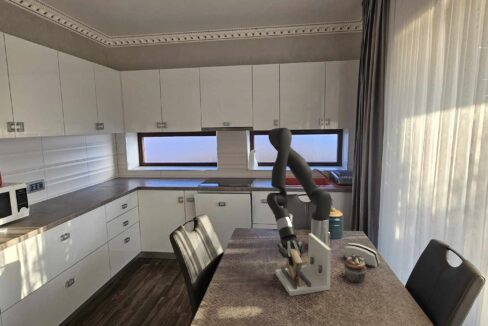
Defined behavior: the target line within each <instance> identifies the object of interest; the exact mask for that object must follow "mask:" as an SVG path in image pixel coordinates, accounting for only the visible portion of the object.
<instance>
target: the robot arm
mask: <svg viewBox="0 0 488 326" xmlns="http://www.w3.org/2000/svg"><path fill="white" fill-rule="evenodd" d="M292 139H293V135H292V132H291V130H290V129H289V128H288V127H276V128H272V129H270V130H269V133H268V141H269V143H270V144H271V146H273V149H275V150H276V152H277V153H276V159H275V162H274V164H273V166H272V169H271V170H272V171H271V184H270V185H271V187H272V188H274V189H278V191H279V192H269V193H268V194H267V197H266V203H267V205H268V207H269V208H270V210H271V212H272V214H273V215H274V220H275V222H276V227H277V232H278V235H279V239H280V243H278V244H277V245H276V246H275V247H276V249H277V251H278V252H279V253H280V256H282V258H286V260H287V259H288V262H289V265H291V267H293V266H294V264H293V260H292V257H291V253H290V251H291V249H296V250H297V252H298V254H299V256H300V258H301V259H302V256H303V255H304V253H305V245H306V242H305V241H300V240H299V239H298V238H297V233H296V229H295V227H294V224H293V220H292V221H291V219H290V215H289V214H290V212H289V210H288V209H287V208H286V206H287V204H288V203H289V197H288V193H287V187H286V178H287V177H286V175H287V166H288V169H289V170H290V172H291V173H292V174H293V176H294V177H295V178H296V180H297V182H298V183H299V185H301V187H302V188H303V190H304V192H305V194H306V196H307V198H308V200H309V201H310V202H311V204H313V205H315V206H316V207H315V211H312V213H311V226H310V227H311V231H310V233H312V234H313V235H314V236H315V237H317V238H318V239H319V240H320V241H322V242H323V243H324V244H325V245H326V246H328V247H329V248H330V249H331V247H330V246H331V245H330V244H331V242H330V241H331V239H330V232H329V215H330V212H331V208H332V195H331V193H330V192H328V191H327V190H324V189H322V188H320V187H319V186H318V184H317V183H316V182H315V181H314V180H315V179H314V178H313V171H312V169H311V167H310V165H309V164H308V162H307V161H306V159H305V158H304V157H303V156H302V155H300V154H299V153H298V152H297V151H296V150H294V149H293V148H292V146H291V145H292V144H291V143H292ZM298 246H299V247H298ZM299 248H300V249H299ZM284 249H285V250H284Z"/></svg>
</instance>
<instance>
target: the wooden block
mask: <svg viewBox="0 0 488 326" xmlns="http://www.w3.org/2000/svg"><path fill="white" fill-rule="evenodd" d="M290 253H291V257H292V260H293V264H294V266H293V267H291V265H289V262H288V259H287V258H286V260H287V261H286V265H285V266H286V268H288V271H289V273H290V275H291V277H292V279H299V275H300V271H301V267H302V266H303V259H302V257H301V258H300V256H299V254H298V252H297V250H296V249H291V251H290Z"/></svg>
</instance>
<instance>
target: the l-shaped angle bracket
mask: <svg viewBox="0 0 488 326" xmlns="http://www.w3.org/2000/svg"><path fill="white" fill-rule="evenodd" d="M307 244H308V249H307V251H308V253H307V254H308V255H307V260H308V261H307V265H302V267H301V271H300V275H299V279H292V277H291V275H290V273H289V271H288V268H287V267H286V268H285V267H284V266H281V267H280V268H279V269H275V275H276V277H277V279H278V280H279V282H280V283H281V284H282V285H283V287H284V288H285V291H286V292H287V294H289V297H292V296H299V295H305V294H310V293H311V294H312V293H316V292H323V291H324V292H325V291H329V290H331V271H332V269H331V268H332V249H331V247H330V248H329V247H328V246H326V245H325V244H324V243H323V242H322V241H320V240H319V239H318V238H317V237H315V236H314V235H313V234H312V233H311V232H310V233H308V243H307Z"/></svg>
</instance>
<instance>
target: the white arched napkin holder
mask: <svg viewBox="0 0 488 326" xmlns="http://www.w3.org/2000/svg"><path fill="white" fill-rule="evenodd" d="M352 254H354V255H355V256H362V258H364V260H363V261H364V263H365V265H368V266H371V265H372V266H371V267H373V268H378V267H379V266H378V265H380V264H381V261H380V260H379V257H378V252H377V251H375V250H374V249H372V248H370V247H368V246H366V245H363V244H360V243H354V242H348V243H347V244H346V245H345V247H344V257H345V258H346V259H347V258H348V257H349V256H351V255H352ZM377 266H378V267H377Z"/></svg>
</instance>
